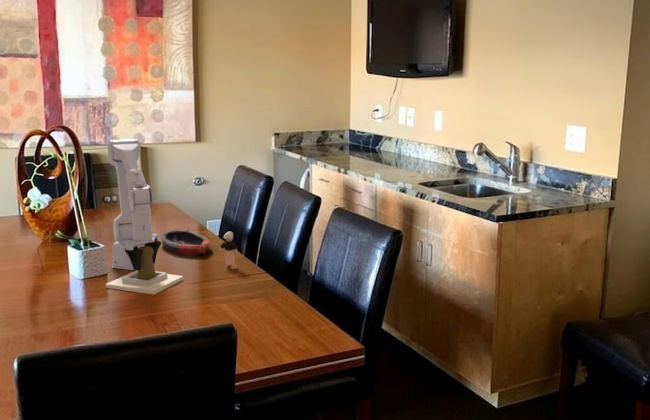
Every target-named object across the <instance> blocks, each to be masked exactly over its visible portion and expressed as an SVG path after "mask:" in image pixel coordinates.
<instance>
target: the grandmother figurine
mask: <svg viewBox="0 0 650 420" xmlns="http://www.w3.org/2000/svg"><path fill="white" fill-rule="evenodd" d="M223 239H225V241H224V242H222V243H221V245H220V247H219V251H220V252H223V249H224V251H225V252H224V261H225V266H224V268H225V269H232V270H234V269H237V268H238V265H237V264H236V262H235V261H236V260H235V255H236V256H237V255H239V252H238V248H237V245H236V244H235V243H234V242H233V240H234V233H233V232H232V231H227V232H226V233H225V234H224V235H223Z"/></svg>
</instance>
